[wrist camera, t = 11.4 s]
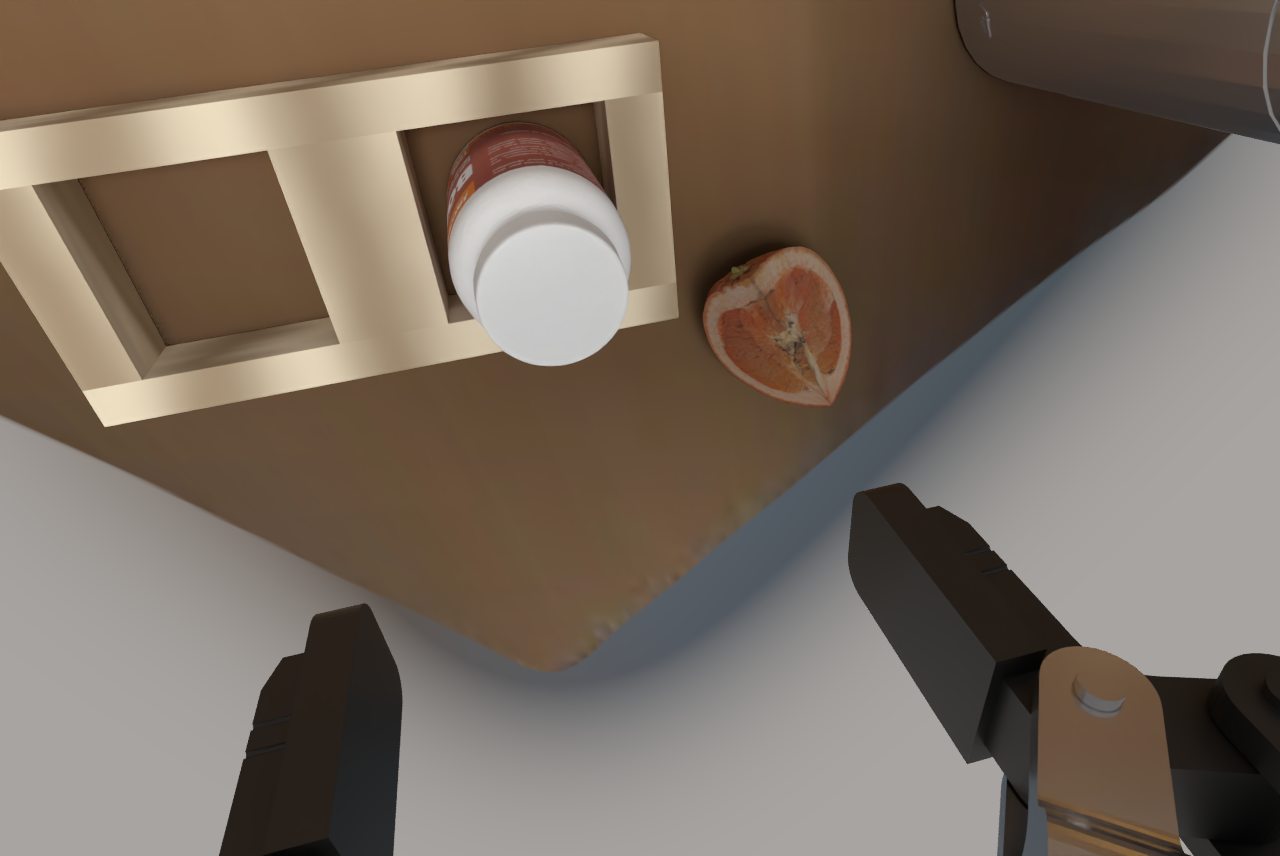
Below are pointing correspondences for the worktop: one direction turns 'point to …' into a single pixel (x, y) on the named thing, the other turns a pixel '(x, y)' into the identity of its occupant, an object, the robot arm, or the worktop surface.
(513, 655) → the worktop surface
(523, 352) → the pill bottle
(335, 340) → the rail
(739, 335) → the fruit slice
